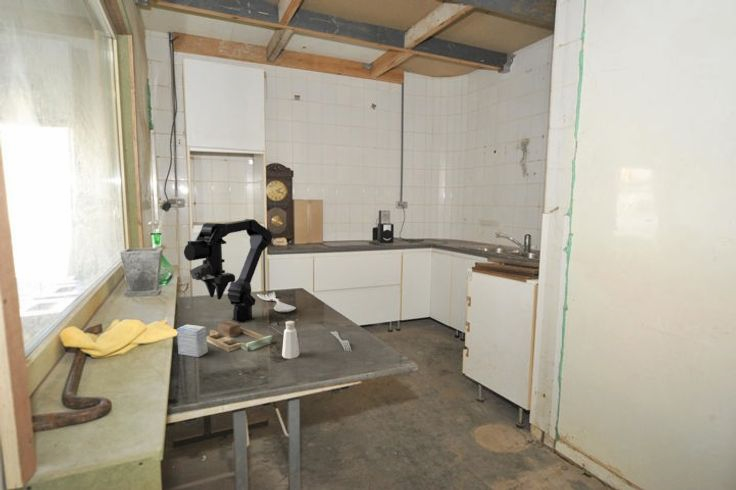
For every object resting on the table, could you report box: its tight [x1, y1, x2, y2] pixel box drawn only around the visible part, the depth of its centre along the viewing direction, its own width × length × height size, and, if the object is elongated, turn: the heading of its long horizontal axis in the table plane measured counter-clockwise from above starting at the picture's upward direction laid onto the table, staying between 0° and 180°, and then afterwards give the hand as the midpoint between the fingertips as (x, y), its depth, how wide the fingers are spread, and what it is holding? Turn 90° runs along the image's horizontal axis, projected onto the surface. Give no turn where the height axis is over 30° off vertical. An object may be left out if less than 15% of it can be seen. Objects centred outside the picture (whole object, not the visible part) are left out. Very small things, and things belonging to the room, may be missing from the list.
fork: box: [330, 330, 352, 352], centre depth 135 cm, size 3×21×3 cm, turn 20°
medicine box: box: [176, 324, 208, 358], centre depth 123 cm, size 8×4×9 cm, turn 71°
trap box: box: [207, 326, 273, 353], centre depth 135 cm, size 14×24×2 cm, turn 51°
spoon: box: [256, 291, 297, 313], centre depth 178 cm, size 9×32×4 cm, turn 33°
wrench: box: [265, 321, 285, 339], centre depth 144 cm, size 5×20×1 cm, turn 37°
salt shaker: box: [281, 320, 300, 360], centre depth 122 cm, size 5×5×11 cm
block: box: [217, 320, 242, 338], centre depth 141 cm, size 4×7×4 cm, turn 53°
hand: (215, 298), depth 145 cm, fingers open, 5 cm apart
